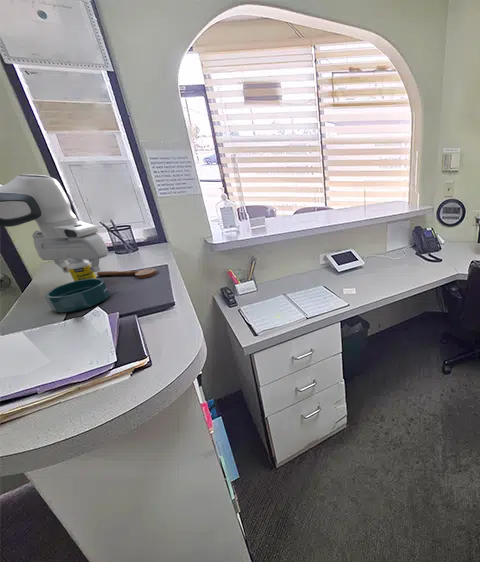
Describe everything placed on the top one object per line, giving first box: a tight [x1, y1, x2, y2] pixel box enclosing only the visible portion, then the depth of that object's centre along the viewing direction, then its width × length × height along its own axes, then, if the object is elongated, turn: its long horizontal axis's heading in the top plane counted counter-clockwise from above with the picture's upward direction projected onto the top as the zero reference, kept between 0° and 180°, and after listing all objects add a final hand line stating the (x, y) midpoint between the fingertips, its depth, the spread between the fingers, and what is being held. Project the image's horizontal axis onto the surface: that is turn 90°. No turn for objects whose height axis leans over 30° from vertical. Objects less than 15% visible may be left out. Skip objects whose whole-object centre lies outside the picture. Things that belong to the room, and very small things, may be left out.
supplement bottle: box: [66, 258, 97, 282], centre depth 99 cm, size 5×5×10 cm
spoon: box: [96, 267, 158, 279], centre depth 107 cm, size 21×6×2 cm, turn 87°
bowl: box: [44, 277, 110, 313], centre depth 88 cm, size 12×12×5 cm
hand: (82, 271), depth 99 cm, fingers open, 8 cm apart
